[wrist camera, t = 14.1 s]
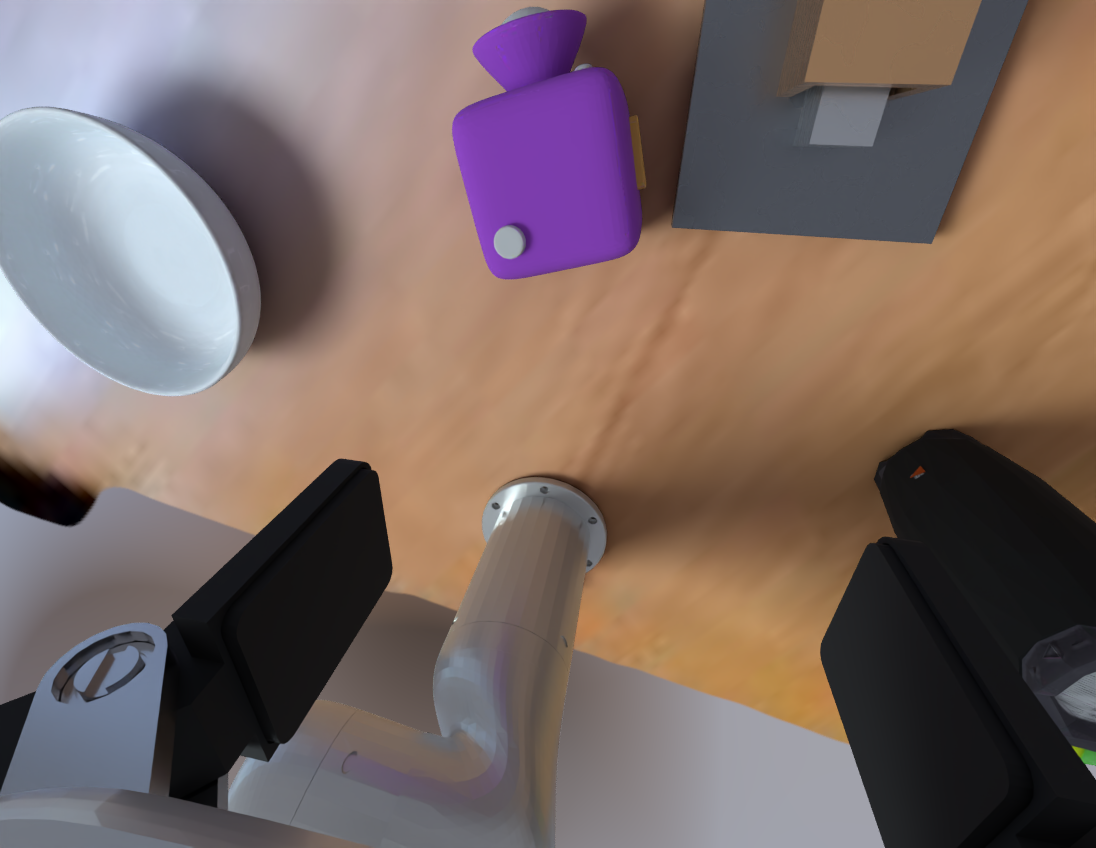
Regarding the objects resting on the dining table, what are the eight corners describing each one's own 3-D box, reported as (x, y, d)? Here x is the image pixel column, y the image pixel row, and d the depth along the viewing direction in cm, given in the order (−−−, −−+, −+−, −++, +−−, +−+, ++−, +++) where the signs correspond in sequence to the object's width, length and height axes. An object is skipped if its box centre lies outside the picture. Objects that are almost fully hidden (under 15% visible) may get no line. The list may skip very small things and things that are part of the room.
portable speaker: (848, 451, 39) (996, 667, 22) (984, 403, 36) (1284, 618, 19) (881, 527, 42) (1036, 772, 25) (1011, 490, 38) (1295, 748, 21)
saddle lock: (894, 99, 28) (951, 84, 22) (776, 96, 28) (804, 81, 23) (948, -69, 24) (1029, -132, 19) (812, -66, 25) (854, -126, 20)
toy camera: (599, -7, 29) (577, -79, 20) (669, 220, 34) (676, 240, 25) (449, 86, 33) (377, 59, 24) (533, 279, 38) (498, 314, 29)
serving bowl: (131, 360, 49) (59, 387, 43) (27, 115, 39) (-85, 107, 33) (318, 376, 46) (268, 409, 40) (256, 114, 36) (177, 105, 30)
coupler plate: (920, 240, 32) (989, 260, 25) (671, 225, 34) (676, 239, 28) (1125, -293, 21) (1335, -494, 15) (744, -263, 23) (780, -426, 17)
